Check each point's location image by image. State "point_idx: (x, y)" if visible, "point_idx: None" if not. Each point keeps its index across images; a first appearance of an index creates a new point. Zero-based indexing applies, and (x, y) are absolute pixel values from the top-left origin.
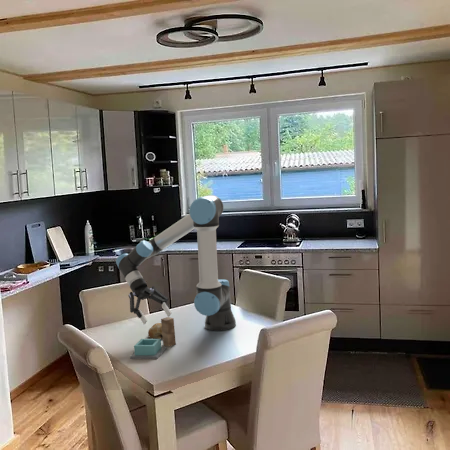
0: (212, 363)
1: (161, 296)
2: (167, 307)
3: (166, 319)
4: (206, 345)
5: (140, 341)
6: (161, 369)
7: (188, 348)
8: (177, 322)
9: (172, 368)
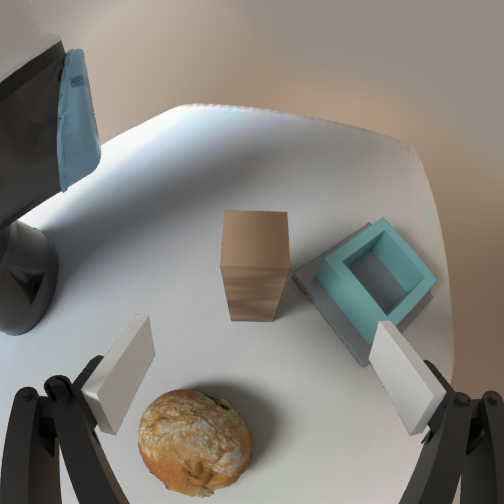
0: (276, 116)
1: (36, 458)
2: (116, 348)
3: (270, 229)
4: (184, 189)
5: (403, 305)
6: (384, 172)
7: None
8: None
9: (361, 157)
